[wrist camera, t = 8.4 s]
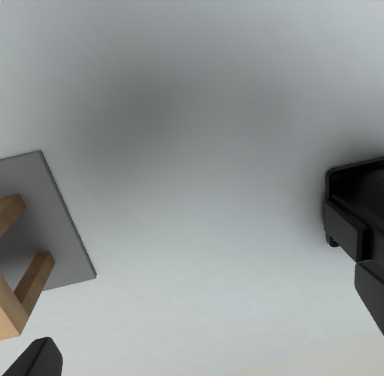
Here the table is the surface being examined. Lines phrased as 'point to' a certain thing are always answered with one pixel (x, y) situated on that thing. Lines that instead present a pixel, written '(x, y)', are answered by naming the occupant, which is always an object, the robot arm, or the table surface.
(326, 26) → the table surface
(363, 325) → the table surface
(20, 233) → the mat
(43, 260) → the stool
